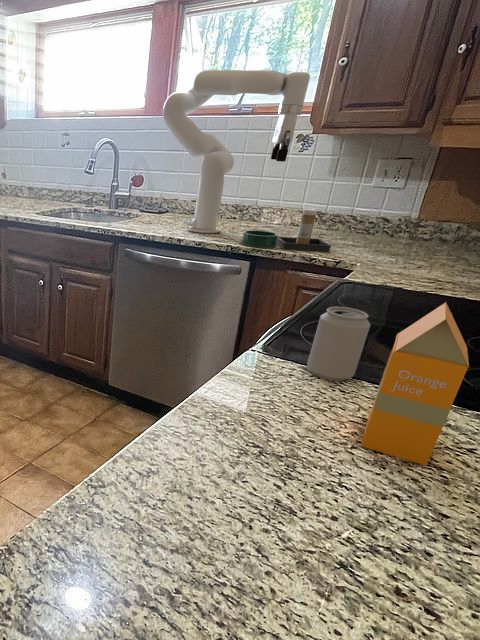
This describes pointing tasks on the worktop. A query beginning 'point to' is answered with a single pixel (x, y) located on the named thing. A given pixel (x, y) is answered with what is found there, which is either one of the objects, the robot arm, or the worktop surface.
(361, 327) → the can
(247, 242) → the bowl
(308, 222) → the sprinkles bottle
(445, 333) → the orange juice
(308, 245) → the tray
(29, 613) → the worktop surface
